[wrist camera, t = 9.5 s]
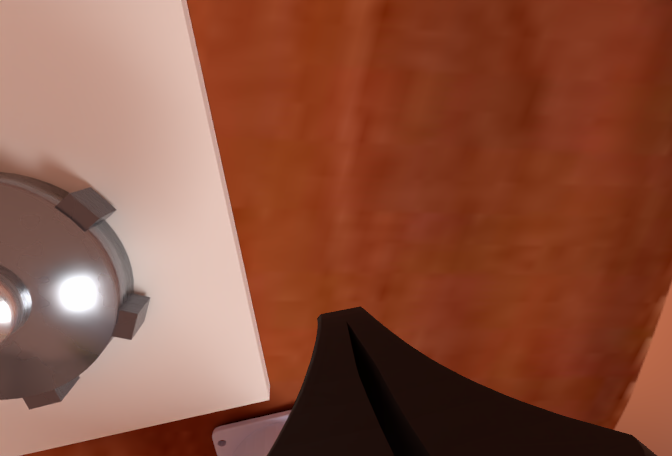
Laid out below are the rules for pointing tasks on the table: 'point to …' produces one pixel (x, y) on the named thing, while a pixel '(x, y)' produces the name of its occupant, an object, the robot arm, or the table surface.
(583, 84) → the table surface
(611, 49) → the table surface
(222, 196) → the base plate
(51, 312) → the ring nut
